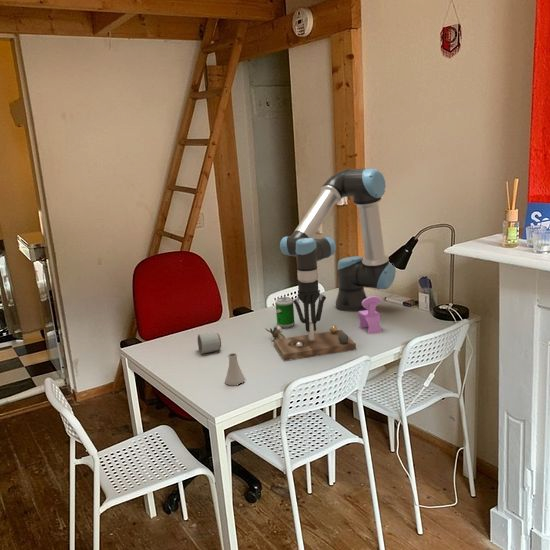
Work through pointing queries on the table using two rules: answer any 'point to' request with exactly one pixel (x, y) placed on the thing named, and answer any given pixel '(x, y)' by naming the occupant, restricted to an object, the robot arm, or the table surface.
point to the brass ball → (333, 329)
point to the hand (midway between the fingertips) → (311, 338)
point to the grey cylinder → (209, 342)
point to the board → (312, 345)
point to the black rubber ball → (343, 338)
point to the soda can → (285, 312)
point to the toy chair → (370, 315)
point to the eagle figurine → (276, 333)
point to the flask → (234, 371)
